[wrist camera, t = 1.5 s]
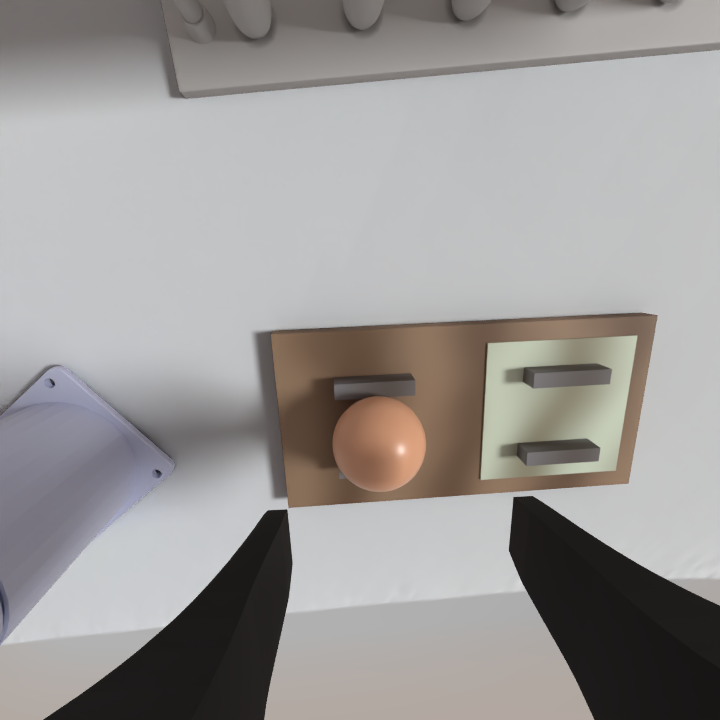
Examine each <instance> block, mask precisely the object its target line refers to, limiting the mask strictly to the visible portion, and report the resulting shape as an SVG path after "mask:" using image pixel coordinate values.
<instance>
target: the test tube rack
mask: <svg viewBox="0 0 720 720" xmlns="http://www.w3.org/2000/svg"><path fill="white" fill-rule="evenodd" d="M161 4H162V9H163V14H164V19H165V24H166V29H167V34H168V39H169V44H170V49H171V54H172V59H173V64H174V69H175V74H176V79H177V84H178V88H179V92H180V93H181V94H182V95H183V96H184V97H185V98H199V97H210V96H221V95H232V94H242V93H253V92H264V91H274V90H285V89H296V88H307V87H318V86H329V85H340V84H351V83H361V82H372V81H383V80H394V79H405V78H416V77H427V76H438V75H449V74H459V73H470V72H481V71H492V70H503V69H514V68H525V67H536V66H546V65H557V64H568V63H579V62H590V61H601V60H612V59H623V58H634V57H645V56H655V55H667V54H678V53H689V52H700V51H711V50H720V0H161Z"/></svg>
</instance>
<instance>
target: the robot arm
mask: <svg viewBox="0 0 720 720" xmlns="http://www.w3.org/2000/svg"><path fill="white" fill-rule="evenodd" d="M50 379H52V380H53V381H54V382H55V386H54V385H53V384H51V382H50ZM174 468H175V463H174V461H173V460H172V459H171V458H170V457H168V456H167V455H166V454H165V453H164V452H163V451H162V450H160V449H159V448H158V447H157V446H156V445H155V444H153V443H152V442H151V441H150V440H149V439H148V438H147V437H145V436H144V435H143V434H142V433H141V432H140V431H138V430H137V429H136V428H135V427H134V426H133V425H132V424H130V423H129V422H128V421H127V420H126V419H125V418H123V417H122V416H121V415H120V414H119V413H118V412H117V411H115V410H114V409H113V408H112V407H111V406H110V405H109V404H107V403H106V402H105V401H104V400H103V399H102V398H100V397H99V396H98V395H97V394H96V393H95V392H94V391H92V390H91V389H90V388H89V387H88V386H87V385H85V384H84V383H83V382H82V381H81V380H80V379H79V378H77V377H76V376H75V375H74V374H73V373H72V372H70V371H69V370H68V369H67V368H65V367H63V366H55V367H52V368H50V369H49V370H47V371H46V372H45V373H44V374H43V375H42V376H41V377H40V378H39V379H38V380H37V381H36V382H35V383H34V384H33V385H32V386H31V387H30V388H29V389H28V390H27V391H26V392H25V393H24V394H22V395H21V396H20V397H19V398H18V399H17V400H16V401H15V402H14V403H13V404H12V405H11V406H10V407H9V408H8V409H7V410H6V411H5V412H4V413H3V414H2V415H1V416H0V645H1V644H2V643H3V642H4V640H5V639H6V638H7V637H8V636H9V635H10V634H11V632H12V631H13V630H14V629H15V628H16V627H17V626H18V624H19V623H20V622H21V621H22V620H23V619H24V618H25V616H26V615H27V614H28V613H29V612H30V611H31V610H32V608H33V607H34V606H35V605H36V604H37V603H38V602H39V600H40V599H41V598H42V597H43V596H44V595H45V594H46V592H47V591H48V590H49V589H50V588H51V587H52V586H53V584H54V583H55V582H56V581H57V580H58V579H59V578H60V576H61V575H62V574H63V573H64V572H65V571H66V570H67V568H68V567H69V566H70V565H71V564H72V563H73V562H74V560H75V559H76V558H77V557H78V556H79V555H80V554H81V552H82V551H83V550H84V549H85V548H86V547H87V546H88V544H89V543H90V542H91V541H92V540H94V539H95V538H96V537H97V536H98V535H99V534H101V533H102V532H103V531H104V530H105V529H106V528H108V527H109V526H110V525H111V524H112V523H113V522H115V521H116V520H117V519H118V518H119V517H120V516H122V515H123V514H124V513H125V512H126V511H128V510H129V509H130V508H131V507H132V506H133V505H135V504H136V503H137V502H138V501H139V500H140V499H142V498H143V497H144V496H145V495H146V494H147V493H149V492H150V491H151V490H152V489H153V488H154V487H156V486H157V485H158V484H159V483H160V482H161V481H163V480H164V479H165V478H166V477H167V476H168V475H170V474H171V472H172V471H173V470H174ZM155 470H159V471H160V472H161V473H162V474H158V473H156V471H155ZM509 552H510V554H511V557H512V559H513V562H514V564H515V567H516V569H517V572H518V574H519V576H520V579H521V581H522V583H523V585H524V587H525V589H526V591H527V592H528V594H529V596H530V598H531V599H532V601H533V603H534V605H535V607H536V608H537V610H538V612H539V614H540V616H541V617H542V619H543V621H544V623H545V624H546V626H547V628H548V630H549V632H550V633H551V635H552V637H553V639H554V640H555V642H556V644H557V646H558V647H559V649H560V651H561V653H562V654H563V656H564V658H565V660H566V661H567V663H568V665H569V667H570V669H571V671H572V673H573V675H574V677H575V679H576V681H577V683H578V685H579V687H580V689H581V691H582V694H583V696H584V698H585V700H586V702H587V704H588V707H589V709H590V711H591V713H592V715H593V717H594V720H720V606H719V605H717V604H715V603H713V602H710V601H708V600H706V599H704V598H702V597H700V596H698V595H696V594H694V593H691V592H690V591H687V590H686V589H684V588H682V587H680V586H678V585H676V584H674V583H672V582H670V581H668V580H666V579H665V578H663V577H661V576H659V575H657V574H655V573H653V572H651V571H650V570H648V569H646V568H644V567H643V566H641V565H639V564H637V563H636V562H634V561H632V560H631V559H629V558H627V557H626V556H624V555H622V554H621V553H619V552H617V551H616V550H614V549H612V548H611V547H609V546H608V545H606V544H604V543H603V542H601V541H600V540H598V539H597V538H595V537H594V536H592V535H590V534H589V533H587V532H586V531H584V530H583V529H581V528H580V527H578V526H577V525H575V524H574V523H572V522H571V521H570V520H568V519H567V518H565V517H564V516H562V515H561V514H559V513H558V512H556V511H555V510H553V509H552V508H550V507H549V506H547V505H546V504H544V503H543V502H541V501H540V500H538V499H536V498H535V497H533V496H526V497H514V499H513V510H512V521H511V533H510V544H509ZM291 573H292V553H291V543H290V533H289V523H288V512H287V510H269V511H267V512H266V513H265V514H264V515H263V517H262V518H261V519H260V521H259V522H258V524H257V525H256V526H255V528H254V529H253V531H252V532H251V533H250V535H249V536H248V537H247V539H246V540H245V541H244V543H243V544H242V545H241V546H240V548H239V549H238V550H237V551H236V553H235V554H234V555H233V556H232V558H231V559H230V560H229V561H228V563H227V564H226V565H225V566H224V567H223V568H222V570H221V571H220V572H219V573H218V574H217V575H216V576H215V578H214V579H213V580H212V581H211V582H210V583H209V584H208V586H207V587H206V588H205V589H204V590H203V591H202V592H201V593H200V594H199V595H198V596H197V597H196V598H195V599H194V600H193V601H192V602H191V603H190V604H189V605H188V606H187V607H186V608H185V609H184V610H183V611H182V612H181V613H180V614H179V615H178V616H177V617H176V618H175V619H174V620H173V621H172V622H171V623H170V624H168V625H167V626H166V627H165V628H164V629H163V630H162V631H161V632H159V634H157V635H156V636H155V637H154V638H152V639H151V640H150V641H149V642H148V643H147V644H146V645H145V646H143V647H142V648H141V649H140V650H139V651H137V652H136V653H135V654H134V655H132V656H131V657H130V658H129V659H127V660H126V661H125V662H124V663H122V664H121V665H120V666H118V667H117V668H116V669H114V670H113V671H112V672H110V673H109V674H108V675H106V676H105V677H104V678H103V679H101V680H100V681H98V682H97V683H96V684H94V685H93V686H92V687H90V688H89V689H87V690H86V691H85V692H83V693H82V694H80V695H79V696H78V697H76V698H75V699H73V700H72V701H70V702H69V703H68V704H66V705H64V706H63V707H61V708H60V709H58V710H57V711H56V712H54V713H53V714H51V715H50V716H48V717H47V718H45V719H44V720H264V716H265V709H266V702H267V697H268V691H269V686H270V681H271V676H272V672H273V667H274V662H275V657H276V653H277V649H278V644H279V640H280V636H281V631H282V626H283V622H284V617H285V613H286V608H287V603H288V599H289V591H290V582H291Z"/></svg>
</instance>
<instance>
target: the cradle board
mask: <svg viewBox="0 0 720 720" xmlns="http://www.w3.org/2000/svg"><path fill="white" fill-rule="evenodd" d="M657 316H658V315H652V314H646V313H628V314H608V315H587V316H567V317H546V318H526V319H505V320H484V321H464V322H443V323H423V324H402V325H382V326H361V327H341V328H320V329H300V330H279V331H273V332H272V334H271V342H272V352H273V362H274V371H275V381H276V390H277V400H278V410H279V419H280V429H281V439H282V448H283V458H284V467H285V477H286V487H287V496H288V506H289V508H292V507H306V506H320V505H334V504H348V503H362V502H376V501H390V500H404V499H418V498H432V497H446V496H460V495H474V494H488V493H502V492H516V491H530V490H544V489H558V488H572V487H586V486H600V485H613V484H627V483H629V477H630V471H631V465H632V460H633V454H634V448H635V442H636V437H637V431H638V425H639V419H640V414H641V408H642V402H643V396H644V391H645V385H646V379H647V373H648V368H649V362H650V356H651V350H652V345H653V339H654V333H655V327H656V322H657ZM374 396H383V397H389V398H393V399H396V400H398V401H400V402H402V403H404V404H405V405H406V406H408V407H409V408H410V409H411V410H412V411H413V412H414V413H415V414H416V416H417V417H418V419H419V420H420V422H421V424H422V427H423V429H424V432H425V437H426V452H425V457H424V460H423V463H422V465H421V467H420V469H419V471H418V472H417V474H416V475H415V476H414V477H413V478H412V479H411V480H410V481H409V482H408V483H406V484H405V485H403V486H402V487H400V488H397V489H395V490H392V491H387V492H373V491H368V490H365V489H362V488H360V487H358V486H356V485H355V484H353V483H352V482H350V481H349V480H348V479H347V478H346V477H345V476H344V475H343V473H342V472H341V470H340V469H339V467H338V465H337V463H336V461H335V457H334V454H333V434H334V430H335V427H336V424H337V422H338V420H339V419H340V417H341V415H342V414H343V413H344V412H345V411H346V410H347V409H348V408H349V407H350V406H351V405H353V404H354V403H356V402H358V401H359V400H362V399H364V398H368V397H374Z"/></svg>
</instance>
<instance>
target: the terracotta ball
mask: <svg viewBox="0 0 720 720" xmlns="http://www.w3.org/2000/svg"><path fill="white" fill-rule="evenodd" d="M425 452H426V437H425V432H424V429H423V427H422V424H421V422H420V420H419V419H418V417H417V416H416V414H415V413H414V412H413V411H412V410H411V409H410V408H409V407H408V406H406V405H405V404H404V403H402V402H400V401H398V400H396V399H393V398H389V397H383V396H374V397H368V398H364V399H362V400H359V401H358V402H356V403H354V404H353V405H351V406H350V407H349V408H348V409H347V410H346V411H345V412H344V413H343V414H342V415H341V417H340V419H339V420H338V422H337V424H336V427H335V430H334V434H333V454H334V457H335V461H336V463H337V465H338V467H339V469H340V470H341V472H342V473H343V475H344V476H345V477H346V478H347V479H348V480H349V481H350V482H352V483H353V484H355V485H356V486H358V487H360V488H362V489H365V490H368V491H373V492H387V491H392V490H395V489H397V488H400V487H402V486H403V485H405V484H406V483H408V482H409V481H410V480H411V479H412V478H413V477H414V476H415V475H416V474H417V472H418V471H419V469H420V467H421V465H422V463H423V460H424V457H425Z"/></svg>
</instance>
